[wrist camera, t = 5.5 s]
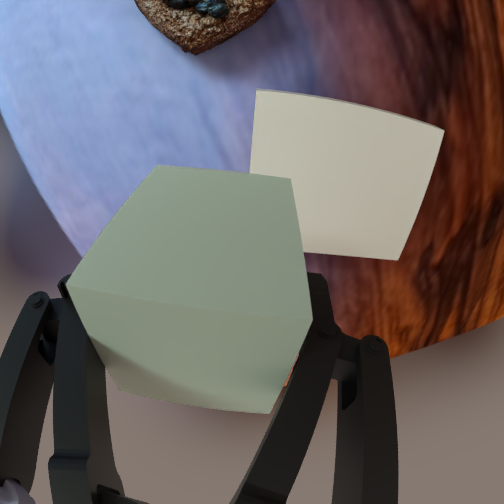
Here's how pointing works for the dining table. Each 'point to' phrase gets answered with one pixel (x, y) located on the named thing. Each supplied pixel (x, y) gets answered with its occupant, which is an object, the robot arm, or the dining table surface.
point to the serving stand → (345, 169)
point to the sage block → (198, 289)
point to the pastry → (202, 20)
